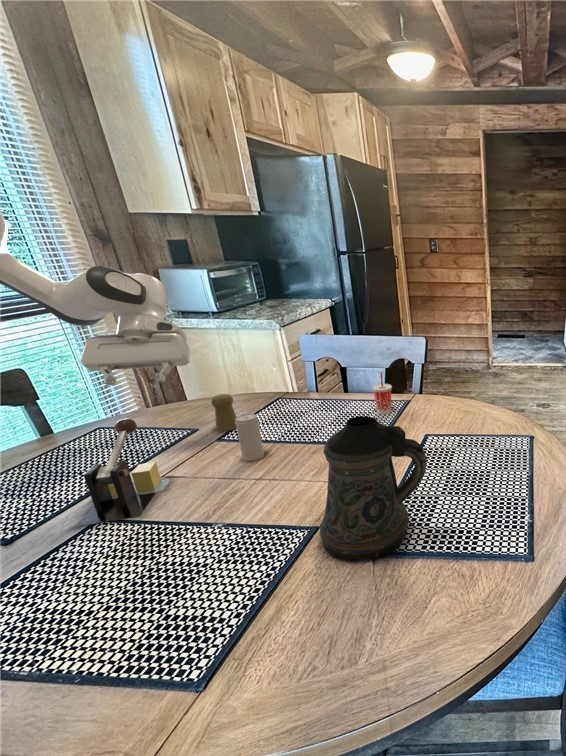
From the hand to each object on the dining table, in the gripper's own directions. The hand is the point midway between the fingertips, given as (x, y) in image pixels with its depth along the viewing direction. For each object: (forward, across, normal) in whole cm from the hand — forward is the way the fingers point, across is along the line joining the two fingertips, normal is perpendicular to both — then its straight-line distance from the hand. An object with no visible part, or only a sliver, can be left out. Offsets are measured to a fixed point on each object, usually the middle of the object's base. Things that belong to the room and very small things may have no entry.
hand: (135, 382), depth 98 cm
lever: (+18, 0, -2) cm, 19 cm away
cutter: (+30, 0, 0) cm, 31 cm away
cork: (+4, +12, +27) cm, 30 cm away
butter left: (+24, -3, +5) cm, 25 cm away
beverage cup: (+4, +57, +27) cm, 63 cm away
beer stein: (+48, +49, -17) cm, 70 cm away
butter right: (+24, +3, +5) cm, 25 cm away
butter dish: (+25, 0, +5) cm, 26 cm away
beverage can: (+19, +22, +12) cm, 32 cm away
